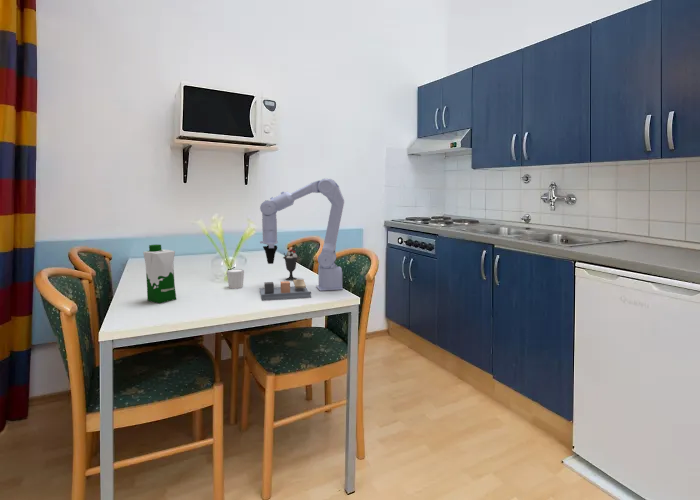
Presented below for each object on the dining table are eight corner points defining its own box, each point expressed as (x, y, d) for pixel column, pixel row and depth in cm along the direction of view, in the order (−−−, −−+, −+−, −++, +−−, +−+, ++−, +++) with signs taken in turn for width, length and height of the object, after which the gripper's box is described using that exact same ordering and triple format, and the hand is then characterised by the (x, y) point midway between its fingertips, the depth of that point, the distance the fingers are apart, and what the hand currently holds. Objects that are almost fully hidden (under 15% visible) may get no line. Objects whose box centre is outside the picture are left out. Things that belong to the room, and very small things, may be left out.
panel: (304, 288, 175) (304, 281, 175) (310, 297, 161) (310, 290, 160) (259, 291, 171) (259, 284, 170) (261, 300, 156) (261, 293, 156)
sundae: (301, 278, 195) (301, 245, 193) (292, 281, 189) (291, 247, 187) (290, 277, 198) (289, 244, 196) (280, 279, 193) (279, 246, 190)
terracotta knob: (289, 291, 164) (289, 281, 164) (290, 293, 161) (290, 282, 160) (280, 291, 163) (280, 281, 163) (281, 293, 160) (281, 283, 160)
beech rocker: (303, 281, 171) (303, 279, 171) (305, 287, 165) (305, 285, 165) (293, 281, 170) (293, 279, 170) (295, 288, 164) (295, 286, 164)
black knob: (273, 292, 163) (272, 281, 162) (273, 294, 160) (273, 283, 159) (264, 292, 162) (264, 282, 161) (265, 294, 159) (264, 284, 158)
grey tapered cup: (240, 289, 174) (239, 272, 173) (224, 288, 175) (223, 271, 174) (247, 285, 181) (246, 269, 180) (232, 285, 182) (231, 268, 181)
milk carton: (165, 295, 163) (162, 243, 160) (180, 299, 158) (177, 245, 156) (143, 301, 156) (139, 246, 153) (159, 304, 151) (155, 247, 148)
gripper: (258, 229, 180) (259, 261, 182) (260, 232, 166) (261, 267, 168) (275, 228, 182) (276, 260, 184) (279, 231, 168) (279, 266, 170)
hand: (270, 263), depth 176 cm, fingers closed
